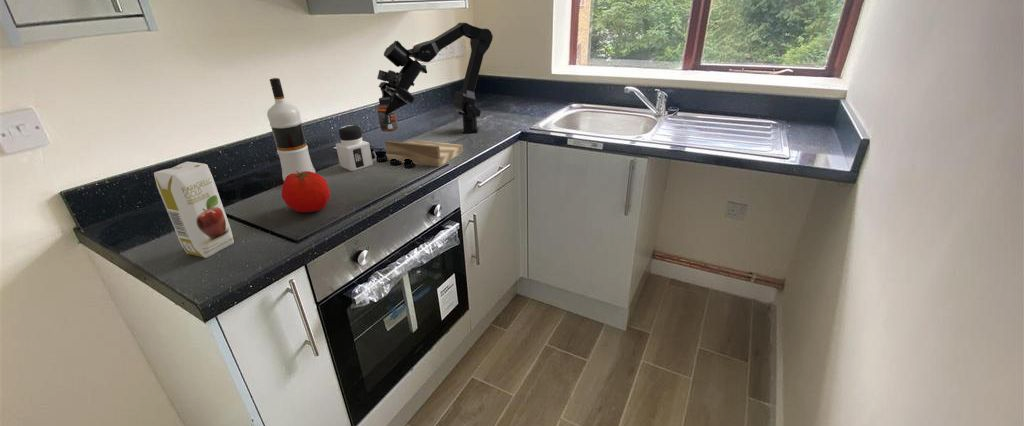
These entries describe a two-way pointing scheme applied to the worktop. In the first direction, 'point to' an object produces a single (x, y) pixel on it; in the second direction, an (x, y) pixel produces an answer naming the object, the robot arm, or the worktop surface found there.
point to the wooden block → (423, 152)
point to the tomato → (305, 191)
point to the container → (353, 149)
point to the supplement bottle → (386, 116)
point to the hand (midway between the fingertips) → (382, 112)
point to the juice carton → (195, 208)
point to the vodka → (288, 134)
